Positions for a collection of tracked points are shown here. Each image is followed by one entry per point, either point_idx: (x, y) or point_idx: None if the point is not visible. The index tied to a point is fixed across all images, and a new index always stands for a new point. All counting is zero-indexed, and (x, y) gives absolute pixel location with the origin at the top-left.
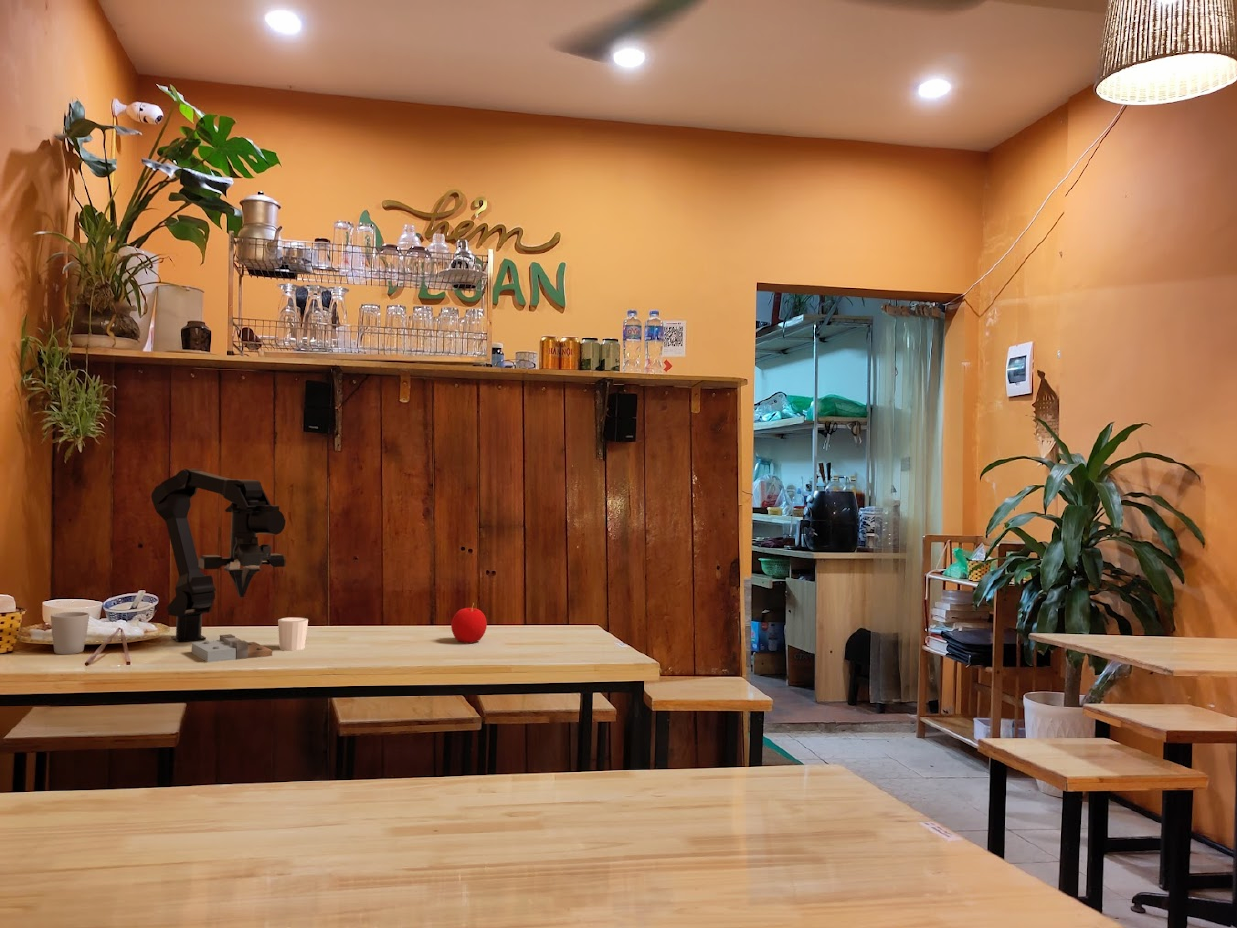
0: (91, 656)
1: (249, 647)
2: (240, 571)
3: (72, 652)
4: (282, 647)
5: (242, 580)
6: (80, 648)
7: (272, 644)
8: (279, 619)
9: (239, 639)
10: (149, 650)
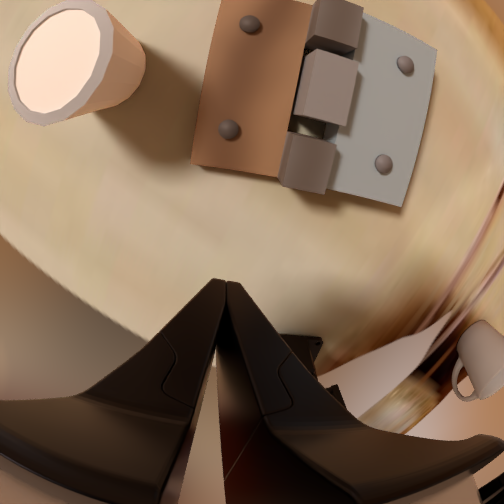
0: (486, 288)
1: (259, 73)
2: (381, 470)
3: (482, 321)
4: (143, 56)
5: (196, 418)
6: (476, 327)
7: (125, 166)
8: (93, 83)
9: (317, 61)
10: (417, 287)
